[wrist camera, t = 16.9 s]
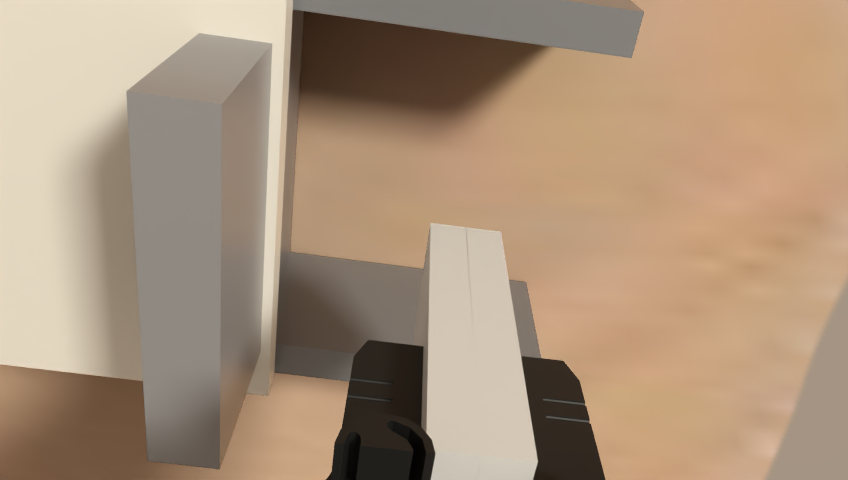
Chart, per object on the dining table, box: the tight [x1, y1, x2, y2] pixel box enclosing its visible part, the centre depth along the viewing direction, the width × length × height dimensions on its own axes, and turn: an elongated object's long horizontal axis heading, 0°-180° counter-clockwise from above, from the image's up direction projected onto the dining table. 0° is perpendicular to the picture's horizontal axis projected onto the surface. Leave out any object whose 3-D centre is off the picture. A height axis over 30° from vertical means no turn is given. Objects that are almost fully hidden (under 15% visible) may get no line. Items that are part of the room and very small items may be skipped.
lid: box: [0, 0, 293, 469], centre depth 15 cm, size 10×11×5 cm
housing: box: [274, 0, 644, 381], centre depth 20 cm, size 28×12×5 cm, turn 82°
